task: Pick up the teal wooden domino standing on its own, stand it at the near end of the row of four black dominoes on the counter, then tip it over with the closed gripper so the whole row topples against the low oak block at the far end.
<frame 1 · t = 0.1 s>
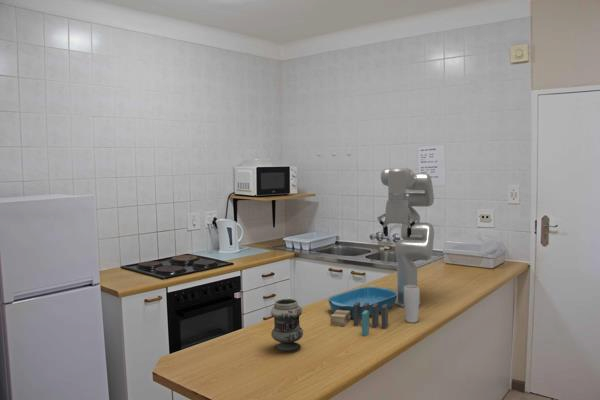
hand: (397, 236, 215), 37 cm above the counter, tool pointing down, fingers open, 9 cm apart
casserole dish: (363, 310, 233), on the counter
domino teal: (365, 333, 199), on the counter
drinking glass: (411, 321, 214), on the counter
domino 2: (375, 325, 209), on the counter
domino 3: (366, 324, 210), on the counter
apothecary jar: (287, 348, 186), on the counter
domino 1: (384, 326, 207), on the counter
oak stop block: (340, 322, 215), on the counter
domino 4: (357, 324, 212), on the counter
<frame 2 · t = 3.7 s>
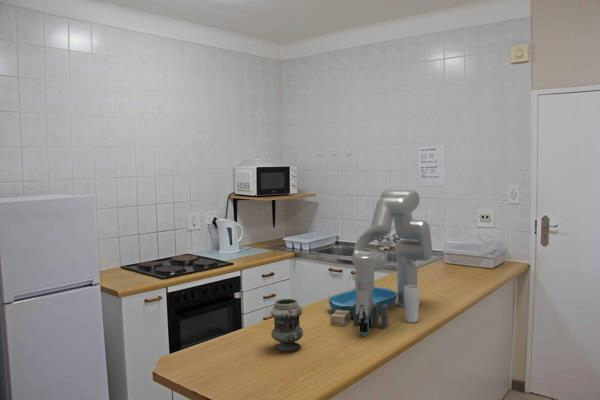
hand: (365, 329, 199), 2 cm above the counter, tool pointing down, fingers closed on domino teal, 4 cm apart
domino teal: (365, 333, 199), on the counter, touching gripper
everything else where it was.
when the fingers open (3 cm above the counter, at t = 9.0 s): domino teal stays where it is, on the counter.
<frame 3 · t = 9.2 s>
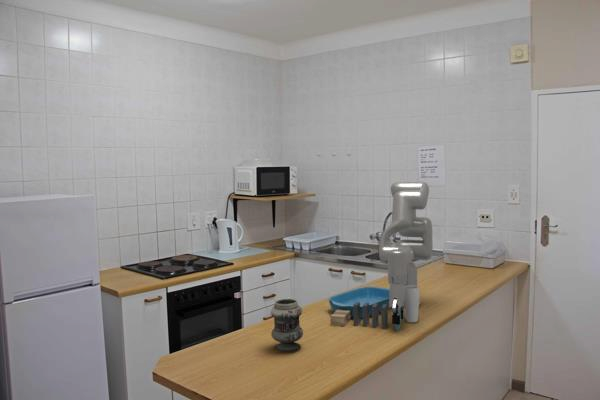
hand: (397, 321, 205), 3 cm above the counter, tool pointing down, fingers open, 7 cm apart
domino teal: (397, 328, 205), on the counter
everything else where it was.
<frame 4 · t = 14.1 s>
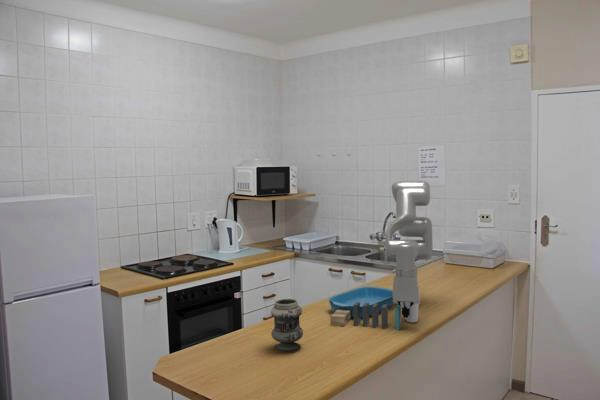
hand: (405, 316, 204), 5 cm above the counter, tool pointing down, fingers closed
domino teal: (397, 328, 205), on the counter, touching gripper
everything else where it was.
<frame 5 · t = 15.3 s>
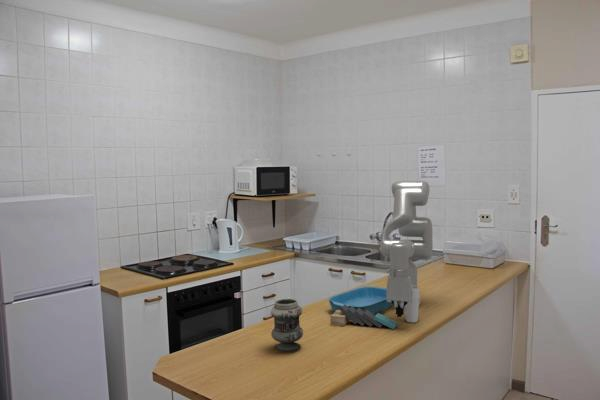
hand: (399, 316, 205), 5 cm above the counter, tool pointing down, fingers closed
domino teal: (395, 326, 206), point 1 cm above the counter, tilted 68°, touching domino 1
domino 2: (373, 324, 209), point 1 cm above the counter, tilted 55°, touching domino 1, domino 3
domino 3: (364, 323, 211), point 1 cm above the counter, tilted 50°, touching domino 2, domino 4
domino 1: (382, 325, 208), point 1 cm above the counter, tilted 59°, touching domino 2, domino teal
domino 4: (357, 321, 212), point 1 cm above the counter, tilted 50°, touching domino 3, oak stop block
everything else where it was.
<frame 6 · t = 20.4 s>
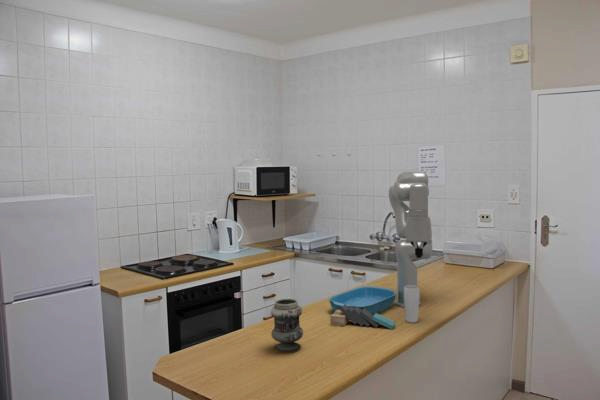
hand: (419, 257, 206), 29 cm above the counter, tool pointing down, fingers closed
domino teal: (393, 325, 206), point 1 cm above the counter, tilted 68°
domino 2: (370, 323, 210), point 1 cm above the counter, tilted 49°, touching domino 3
domino 3: (364, 323, 211), point 1 cm above the counter, tilted 48°, touching domino 2
domino 1: (378, 324, 208), point 1 cm above the counter, tilted 55°
domino 4: (357, 321, 212), point 1 cm above the counter, tilted 48°, touching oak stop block
everything else where it was.
at the end: domino 4 tilted 48°; domino teal tilted 68°; the gripper is holding nothing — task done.
